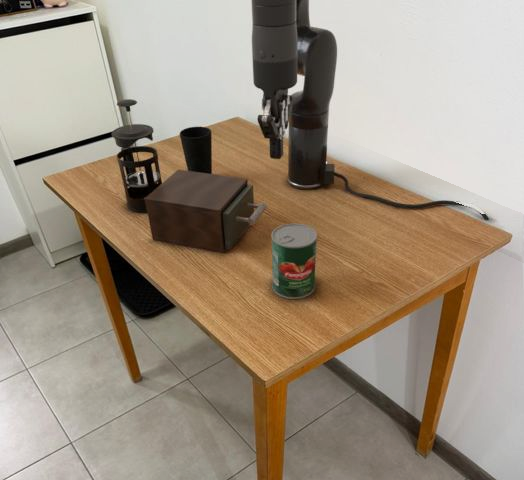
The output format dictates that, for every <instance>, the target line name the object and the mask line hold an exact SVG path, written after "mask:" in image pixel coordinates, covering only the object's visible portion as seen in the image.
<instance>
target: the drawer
mask: <svg viewBox="0 0 524 480" xmlns="http://www.w3.org/2000/svg"><path fill="white" fill-rule="evenodd" d="M267 207H268V206H267V204H266V203H265V202H261V203H260V204H257V203H255V199H254V184H249V183H248V185H247V186H246V187H245V188H244V189H243V191H242V192H241V191H240V192H239V193H238V194H237V195H236V196H235V197H234V199H233V200H232V201H231V204H230V205H229V207H228V208H227V209H226V210H225V211H224V212H223V213H222V214H223V225H224V231H223V234H224V240H225V247H226V248H227V250H231V249H232V248H233V247H234V246H235V244H237V242H238V240H240V238H241V237H242V235H243V234H244V233H245V231H247V229H248V228H249V227H250V226H254V225H255V224H256V222H257V221H258V220H259V219H260V217H261V216H262V215H263V213H264V212H265V211H266V209H267Z"/></svg>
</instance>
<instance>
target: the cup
mask: <svg viewBox="0 0 524 480" xmlns="http://www.w3.org/2000/svg"><path fill="white" fill-rule="evenodd" d="M179 138H180V142H181V146H182V151H183V156H184V161H185V164H186V168H187V171H193V172H200V173H207V174H213V159H212V158H213V157H212V156H213V154H212V152H213V151H212V150H213V149H212V146H213V145H212V144H213V143H212V138H213V137H212V130H211V129H210V128H209V127H205V126H190V127H186V128H183V129H182V130H181V131H180V132H179Z"/></svg>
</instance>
